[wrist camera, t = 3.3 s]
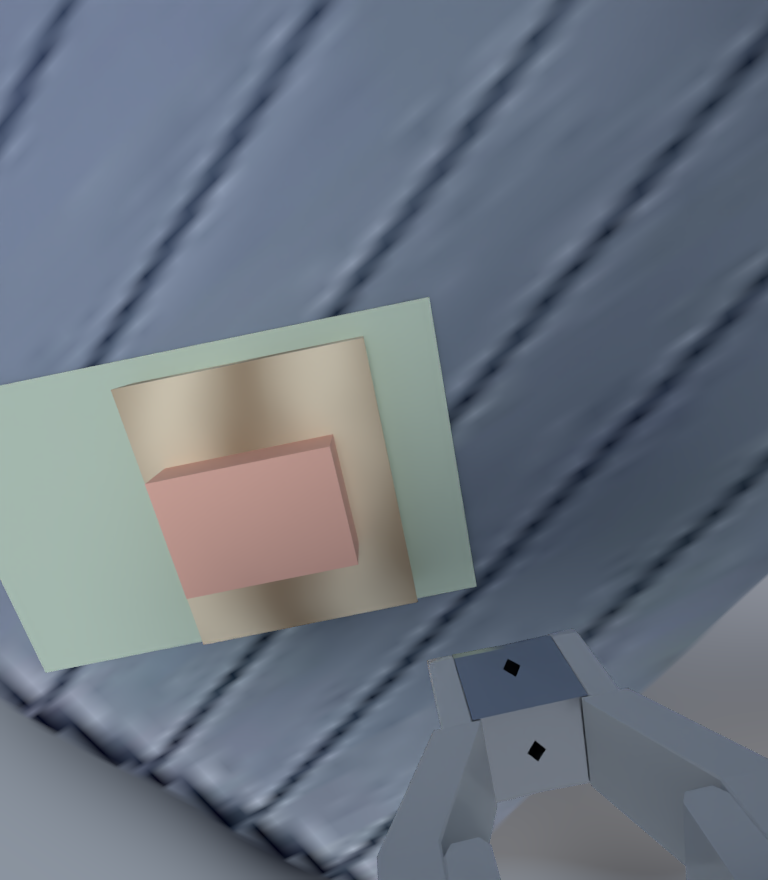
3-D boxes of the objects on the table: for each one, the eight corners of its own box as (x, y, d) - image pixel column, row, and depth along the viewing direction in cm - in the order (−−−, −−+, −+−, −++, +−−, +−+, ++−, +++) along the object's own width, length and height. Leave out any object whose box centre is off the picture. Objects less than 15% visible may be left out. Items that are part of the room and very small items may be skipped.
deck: (363, 335, 20) (363, 337, 18) (413, 577, 23) (417, 601, 21) (135, 382, 20) (110, 389, 18) (216, 617, 23) (203, 644, 21)
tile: (332, 434, 19) (329, 446, 17) (358, 542, 20) (358, 564, 18) (164, 468, 19) (144, 484, 17) (201, 574, 20) (186, 599, 18)
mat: (428, 297, 19) (429, 296, 19) (475, 583, 23) (476, 586, 23) (-79, 401, 20) (-86, 403, 19) (49, 668, 23) (45, 672, 23)
